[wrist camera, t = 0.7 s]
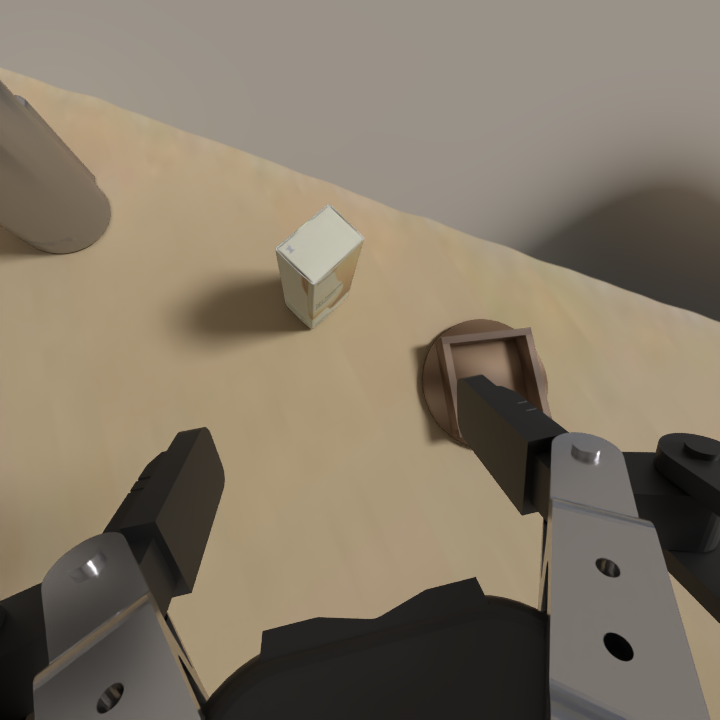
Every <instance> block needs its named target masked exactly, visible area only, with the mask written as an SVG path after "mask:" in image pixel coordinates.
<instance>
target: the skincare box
mask: <svg viewBox="0 0 720 720" xmlns="http://www.w3.org/2000/svg"><path fill="white" fill-rule="evenodd" d="M363 241H364V237H363V236H362V235H361V234H360V233H359V232H358V231H357V230H356V229H355V228H354V227H353V226H352V225H351V224H350V223H349V222H348V221H347V220H346V219H345V218H344V217H343V216H342V215H341V214H340V213H339V212H338V211H336V210H335V209H334V208H333V207H332V206H331V205H326V206H325V207H324V208H323V209H322V210H320V211H319V212H318V213H317V214H316V215H314V216H313V217H312V218H311V219H310V220H308V221H307V222H306V223H304V224H303V225H302V226H301V227H300V228H299V229H298V230H297V231H295V232H294V233H293V234H292V235H291V236H289V237H288V238H287V239H286V240H285V241H284V242H282V243H281V244H280V245H279V246H278V247H276V249H275V250H276V256H277V261H278V266H279V271H280V277H281V282H282V287H283V293H284V298H285V304H286V306H287V307H288V308H289V309H290V310H291V311H292V312H293V313H294V314H295V315H296V316H297V317H298V318H299V319H300V320H301V321H302V322H303V323H305V324H306V325H307V326H308V327H309V328H310V329H313V328H315V327H316V326H317V325H318V324H319V323H320V322H321V321H323V320H324V319H325V318H326V317H327V316H328V315H329V314H330V313H331V312H332V311H333V310H334V309H335V308H336V307H337V306H338V305H339V304H340V303H341V302H342V301H343V300H344V299H345V298H346V297H347V296H348V294H349V290H350V286H351V283H352V279H353V276H354V272H355V269H356V265H357V262H358V258H359V255H360V251H361V248H362V244H363Z"/></svg>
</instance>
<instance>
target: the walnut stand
mask: <svg viewBox="0 0 720 720" xmlns="http://www.w3.org/2000/svg"><path fill="white" fill-rule="evenodd" d="M480 374H482V375H484V376H485V377H486V378H488V379H489V380H490V381H491V382H492V383H494V384H495V385H496V386H503V387H506V388H508V389H511V390H513V391H516V392H517V393H519V394H520V395H521V396H522V397H524V398H525V399H526V400H527V402H530V403H531V404H533V405H534V406H535V407H536V408H537V409H539V410H540V411H542V412H543V413H544V414H546V415H547V416H548V417H550V418H551V413H550V409H549V405H548V400H547V397H548V383H547V377H546V372H545V369H544V366H543V363H542V361H541V359H540V357H539V355H538V353H537V352H536V349H535V344H534V340H533V336H532V331H531V327H530V328H521V329H513V328H511V327H509V326H507V325H505V324H503V323H500V322H497V321H492V320H484V319H478V320H470V321H465V322H462V323H459V324H457V325H455V326H453V327H452V328H450V329H449V330H447V331H446V332H444V333H443V334H442V335H441V336H440V337H439V338H438V339H437V340H436V341H435V343H434V344H433V345H432V347H431V349H430V350H429V352H428V355H427V357H426V360H425V363H424V368H423V378H422V383H423V392H424V396H425V400H426V403H427V405H428V408H429V410H430V412H431V414H432V416H433V417H434V419H435V420H436V422H437V423H438V424H439V425H440V426H441V428H442V429H443V430H444V431H445V432H447V433H448V434H449V435H450V436H452V437H453V438H455V439H456V440H458V441H460V442H462V443H464V444H466V445H468V444H467V442H466V441H465V440H464V438H463V437H462V435H461V433H460V430H459V426H458V421H457V381H458V379H459V378H464V377H469V376H474V375H480ZM551 419H552V418H551Z"/></svg>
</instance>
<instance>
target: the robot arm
mask: <svg viewBox="0 0 720 720" xmlns="http://www.w3.org/2000/svg"><path fill="white" fill-rule="evenodd" d="M109 220H110V205H109V202H108V199H107V198H106V196H105V194H104V193H103V192H102V191H101V189H100V188H99V187H98V186H97V185H96V183H95V176H94V175H93V174H92V173H91V172H90V171H89V170H88V168H87V167H86V166H85V165H84V164H83V163H82V162H81V161H80V160H79V158H78V157H77V156H76V155H75V154H74V153H73V152H72V151H71V150H70V148H69V147H68V146H67V145H66V144H65V143H64V142H63V141H62V139H61V138H60V137H59V136H58V135H57V134H56V133H55V132H54V131H53V129H52V128H51V127H50V126H49V125H48V124H47V123H46V122H45V121H44V119H43V118H42V117H41V116H40V115H39V114H38V113H37V112H36V110H35V109H34V108H33V107H32V106H31V105H30V104H29V103H28V102H27V101H26V100H25V99H24V98H22V97H21V96H18V95H13V94H12V92H11V91H10V90H9V89H8V88H7V87H6V86H5V85H4V84H3V83H2V82H1V80H0V226H1V227H3V228H4V229H6V230H8V231H9V232H11V233H13V234H14V235H16V236H17V237H19V238H21V239H22V240H24V241H25V242H27V243H29V244H30V245H32V246H33V247H35V248H38V249H40V250H42V251H46V252H50V253H70V252H75V251H78V250H81V249H84V248H86V247H88V246H89V245H91V244H93V243H94V242H95V241H96V240H98V239H99V238H100V237H101V235H102V234H103V233H104V232H105V230H106V228H107V226H108V224H109ZM457 421H458V426H459V430H460V433H461V435H462V437H463V438H464V440H465V441H466V442H467V444H468V445H469V446H470V447H471V449H472V450H473V451H474V453H475V454H476V455H477V457H478V458H479V459H480V461H481V462H482V463H483V465H484V466H485V467H486V469H487V470H488V471H489V473H490V474H491V475H492V477H493V478H494V479H495V481H496V482H497V483H498V485H499V486H500V487H501V489H502V490H503V491H504V492H505V494H506V495H507V496H508V498H509V499H510V500H511V502H512V503H513V504H514V506H515V507H516V508H517V510H518V511H519V512H520V514H521V515H526V514H530V513H535V512H539V513H540V514H541V516H542V517H543V524H542V541H541V562H540V583H539V599H538V609H536V608H534V607H531V606H529V605H526V604H524V603H521V602H518V601H515V600H511V599H508V598H504V597H498V596H491V595H484V593H483V591H482V589H481V587H480V585H479V583H478V581H477V579H476V577H474V578H470V579H466V580H462V581H458V582H454V583H450V584H446V585H443V586H439V587H435V588H431V589H427V590H425V591H423V592H421V593H419V594H418V595H416V596H414V597H413V598H411V599H409V600H408V601H406V602H404V603H402V604H401V605H399V606H397V607H396V608H394V609H392V610H391V611H389V612H387V613H385V614H384V615H382V616H380V617H378V618H375V619H351V618H324V617H317V618H313V619H309V620H305V621H301V622H297V623H293V624H289V625H285V626H281V627H277V628H273V629H269V630H265V631H263V633H262V643H261V653H260V654H259V655H257V656H255V657H254V658H252V659H251V660H249V661H248V662H247V663H245V664H244V665H242V666H241V667H240V668H238V669H237V670H236V671H235V672H234V673H233V674H232V675H231V676H229V677H228V678H227V679H226V680H225V681H224V682H223V683H222V684H221V685H220V686H219V687H218V689H217V690H216V691H215V692H214V693H213V694H212V695H211V696H210V698H209V696H208V694H207V692H206V690H205V688H204V687H203V685H202V683H201V681H200V679H199V676H198V674H197V672H196V670H195V668H194V666H193V664H192V662H191V660H190V657H189V655H188V653H187V651H186V649H185V647H184V645H183V643H182V640H181V638H180V636H179V634H178V632H177V630H176V628H175V626H174V624H173V621H172V619H171V617H170V616H169V614H168V612H167V610H168V607H169V604H170V602H171V599H172V597H176V596H181V595H185V594H189V593H192V590H193V587H194V583H195V580H196V577H197V574H198V570H199V567H200V564H201V560H202V557H203V554H204V551H205V547H206V544H207V541H208V538H209V534H210V531H211V528H212V525H213V521H214V518H215V515H216V511H217V508H218V505H219V502H220V498H221V495H222V492H223V489H224V482H225V477H224V470H223V466H222V463H221V461H220V458H219V455H218V452H217V450H216V447H215V444H214V442H213V439H212V436H211V433H210V431H209V430H208V429H207V428H206V427H203V428H198V429H192V430H187V431H182V432H179V433H178V434H177V435H176V437H175V438H174V440H173V441H172V443H171V445H170V446H169V448H168V450H167V451H165V452H161V453H160V454H159V455H158V456H157V457H156V458H155V459H153V460H152V461H151V462H150V463H149V464H148V465H147V466H146V467H145V469H144V470H143V472H142V473H141V475H140V477H139V478H138V481H137V482H136V483H135V484H134V486H133V487H132V489H131V490H130V491H131V493H128V495H127V496H126V498H125V499H124V501H123V502H122V504H121V505H120V507H119V508H118V510H117V512H116V513H115V515H114V516H113V518H112V519H111V521H110V522H109V524H108V525H107V527H106V528H105V530H104V531H103V533H102V534H100V535H97V536H94V537H92V538H89V539H87V540H85V541H84V542H82V543H80V544H78V545H77V546H75V547H74V548H72V549H71V550H70V551H68V552H67V553H66V554H65V555H63V556H62V557H61V558H60V559H59V560H58V561H57V562H56V563H55V564H54V565H53V566H52V567H51V569H50V570H49V571H48V573H47V574H46V576H45V578H44V580H43V582H42V583H40V584H38V585H35V586H33V587H31V588H29V589H26V590H24V591H22V592H20V593H18V594H15V595H13V596H11V597H9V598H6V599H4V600H2V601H0V720H710V716H709V713H708V709H707V706H706V702H705V699H704V696H703V692H702V689H701V685H700V682H699V678H698V675H697V671H696V668H695V664H694V661H693V657H692V654H691V650H690V647H689V643H688V640H687V636H686V633H685V629H684V626H683V623H682V619H681V616H680V612H679V609H678V605H677V602H676V598H675V595H674V591H673V588H672V584H671V581H670V577H669V574H668V572H669V573H670V574H671V575H672V576H673V577H674V578H675V579H676V580H677V581H678V582H679V583H680V584H681V585H682V586H683V587H684V588H685V589H686V590H687V591H688V592H689V593H690V594H691V595H692V596H693V597H694V598H695V599H696V600H697V601H698V602H699V603H700V604H701V605H702V606H703V607H704V608H705V609H706V610H707V611H708V612H709V613H710V614H711V615H712V616H713V617H714V618H715V619H716V620H717V621H718V622H719V623H720V442H719V441H717V440H714V439H711V438H708V437H704V436H700V435H695V434H687V433H672V434H667V435H664V436H662V437H661V438H660V439H659V442H658V446H657V449H656V453H654V452H621V451H620V450H619V449H618V448H617V447H616V446H615V445H614V444H612V443H610V442H609V441H607V440H605V439H603V438H600V437H597V436H594V435H591V434H586V433H576V432H572V433H569V432H568V431H566V430H565V429H564V428H562V427H561V426H560V425H559V424H557V423H556V422H555V421H553V420H552V419H551V418H550V417H548V416H547V415H546V414H544V413H543V412H542V411H540V410H539V409H537V408H536V407H535V406H534V405H533V404H531V403H530V402H527V400H526V399H525V398H524V397H522V396H521V395H520V394H519V393H517V392H516V391H513V390H511V389H508V388H506V387H503V386H496V385H495V384H494V383H492V382H491V381H490V380H489V379H488V378H486V377H485V376H484V375H482V374H480V375H474V376H469V377H464V378H459V379H458V381H457Z"/></svg>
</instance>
